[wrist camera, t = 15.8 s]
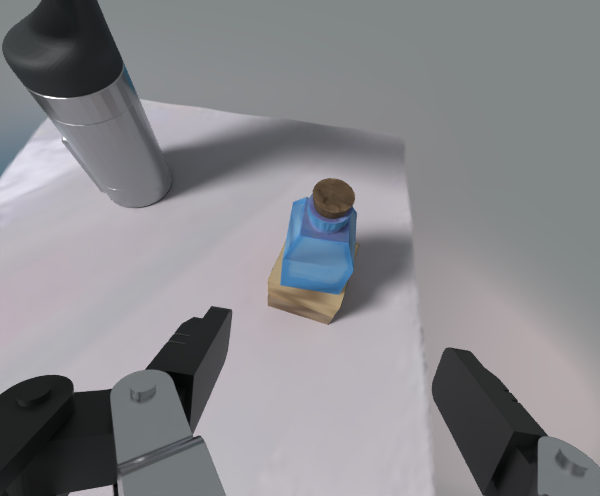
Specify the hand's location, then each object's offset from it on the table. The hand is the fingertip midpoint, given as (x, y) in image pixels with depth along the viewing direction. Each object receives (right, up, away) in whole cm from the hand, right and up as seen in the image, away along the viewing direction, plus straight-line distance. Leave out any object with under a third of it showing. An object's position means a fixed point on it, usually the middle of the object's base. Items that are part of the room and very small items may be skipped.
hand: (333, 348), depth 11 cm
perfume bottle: (0, +2, +21) cm, 22 cm away
